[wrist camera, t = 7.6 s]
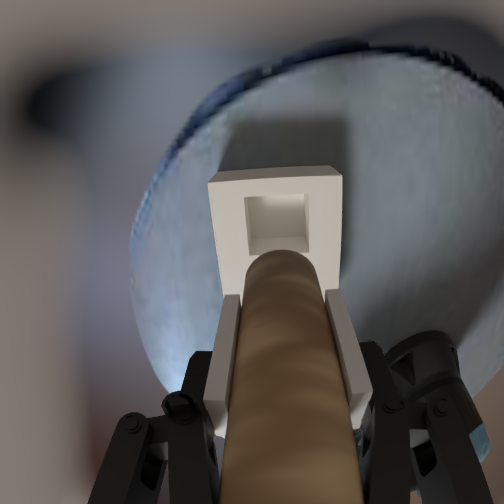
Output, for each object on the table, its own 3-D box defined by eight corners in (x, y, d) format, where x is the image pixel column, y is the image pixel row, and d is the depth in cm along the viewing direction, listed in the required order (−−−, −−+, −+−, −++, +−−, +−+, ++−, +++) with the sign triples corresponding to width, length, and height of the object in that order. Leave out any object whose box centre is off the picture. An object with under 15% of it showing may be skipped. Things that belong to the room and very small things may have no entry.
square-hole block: (330, 165, 30) (342, 175, 25) (327, 298, 37) (334, 325, 32) (217, 171, 31) (207, 182, 26) (234, 303, 38) (229, 330, 33)
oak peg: (317, 247, 17) (390, 537, 3) (315, 308, 19) (352, 552, 5) (241, 251, 17) (193, 548, 4) (248, 312, 19) (225, 557, 6)
